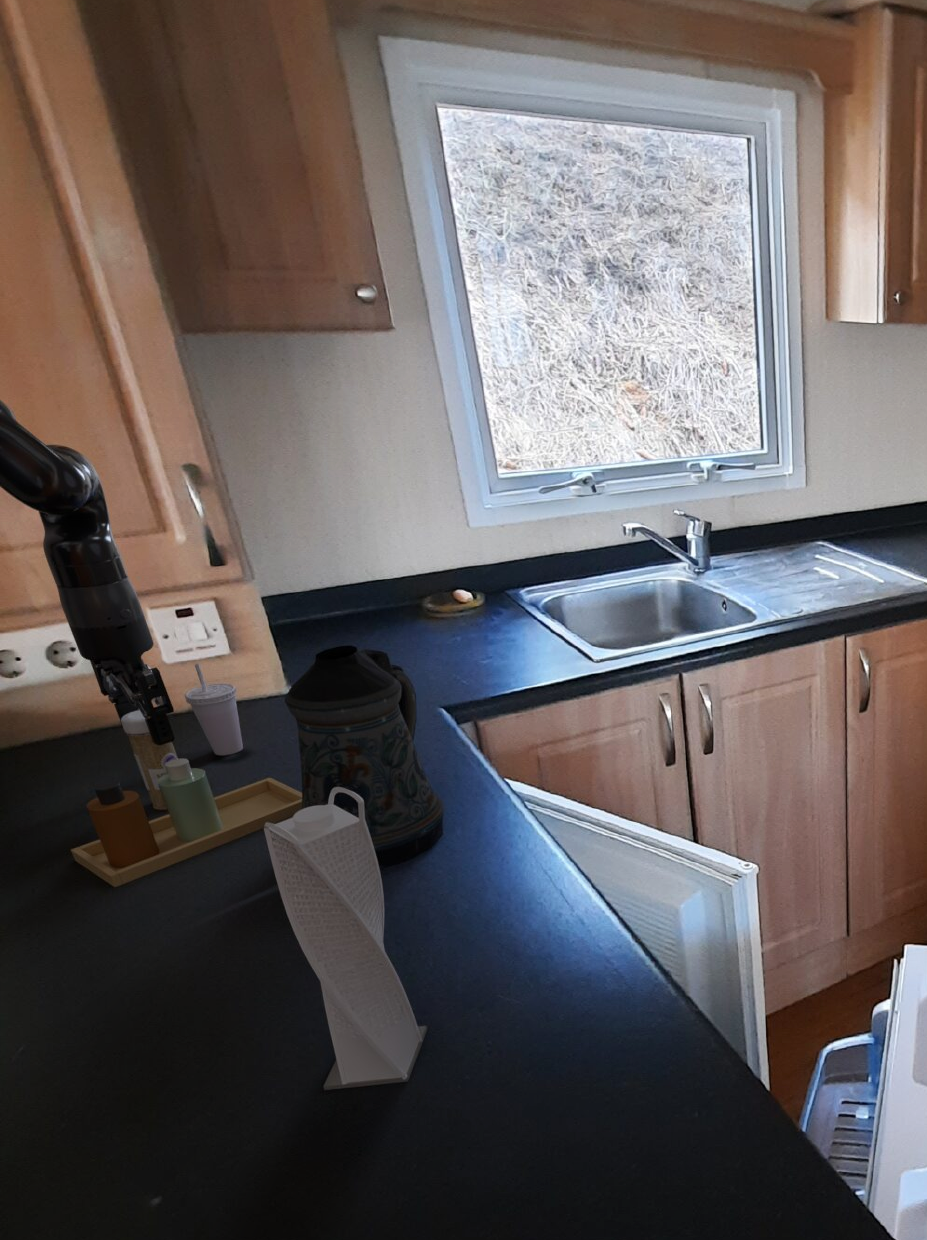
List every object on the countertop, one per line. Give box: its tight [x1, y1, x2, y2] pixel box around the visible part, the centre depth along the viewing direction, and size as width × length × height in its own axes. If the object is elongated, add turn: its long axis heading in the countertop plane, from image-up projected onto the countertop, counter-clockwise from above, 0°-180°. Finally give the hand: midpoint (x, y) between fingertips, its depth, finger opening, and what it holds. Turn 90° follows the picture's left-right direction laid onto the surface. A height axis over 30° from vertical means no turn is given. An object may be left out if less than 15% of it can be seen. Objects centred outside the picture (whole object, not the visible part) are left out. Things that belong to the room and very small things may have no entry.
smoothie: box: [184, 663, 244, 756], centre depth 145 cm, size 6×6×14 cm
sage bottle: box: [158, 757, 224, 842], centre depth 123 cm, size 5×5×10 cm
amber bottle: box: [86, 780, 159, 868], centre depth 117 cm, size 5×5×10 cm
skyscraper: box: [263, 787, 428, 1091], centre depth 84 cm, size 8×8×28 cm
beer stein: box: [284, 645, 445, 869], centre depth 121 cm, size 16×19×25 cm
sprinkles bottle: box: [120, 710, 179, 811], centre depth 130 cm, size 5×5×13 cm
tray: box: [70, 777, 302, 888], centre depth 125 cm, size 24×11×2 cm, turn 147°
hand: (149, 735), depth 128 cm, fingers open, 8 cm apart
